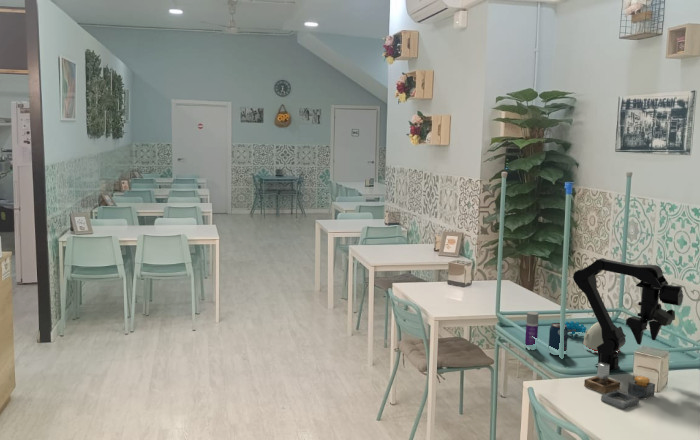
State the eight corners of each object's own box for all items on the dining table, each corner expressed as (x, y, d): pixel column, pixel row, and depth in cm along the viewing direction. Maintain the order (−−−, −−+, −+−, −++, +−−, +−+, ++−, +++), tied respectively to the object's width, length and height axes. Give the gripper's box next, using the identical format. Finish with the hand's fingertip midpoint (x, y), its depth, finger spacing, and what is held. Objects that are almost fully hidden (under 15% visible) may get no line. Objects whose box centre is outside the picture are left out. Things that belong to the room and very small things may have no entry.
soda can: (567, 357, 264) (569, 328, 262) (549, 356, 265) (550, 326, 263) (565, 351, 270) (567, 323, 269) (547, 350, 272) (549, 321, 270)
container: (528, 350, 271) (530, 314, 268) (522, 347, 275) (524, 311, 273) (539, 350, 272) (541, 314, 270) (532, 346, 276) (534, 311, 274)
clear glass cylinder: (603, 388, 231) (605, 367, 230) (594, 384, 234) (595, 364, 233) (610, 385, 233) (611, 365, 232) (600, 381, 236) (602, 361, 235)
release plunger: (631, 391, 229) (632, 377, 228) (638, 388, 231) (639, 375, 231) (643, 395, 225) (644, 382, 224) (651, 392, 228) (652, 379, 227)
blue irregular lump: (588, 332, 291) (583, 320, 284) (587, 344, 288) (582, 332, 281) (563, 331, 297) (557, 319, 290) (561, 343, 294) (555, 331, 287)
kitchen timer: (618, 346, 278) (621, 311, 276) (619, 357, 265) (622, 320, 263) (583, 342, 283) (585, 307, 281) (582, 352, 270) (585, 316, 268)
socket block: (601, 400, 223) (601, 389, 222) (634, 388, 233) (635, 377, 233) (623, 409, 216) (624, 397, 215) (657, 396, 227) (658, 385, 226)
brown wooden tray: (584, 385, 235) (584, 379, 235) (598, 381, 240) (599, 374, 239) (605, 394, 228) (605, 387, 228) (619, 388, 233) (620, 382, 233)
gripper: (656, 309, 229) (652, 353, 231) (685, 301, 239) (681, 343, 242) (626, 302, 238) (623, 344, 240) (656, 295, 248) (653, 335, 251)
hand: (646, 342), depth 243 cm, fingers open, 9 cm apart
